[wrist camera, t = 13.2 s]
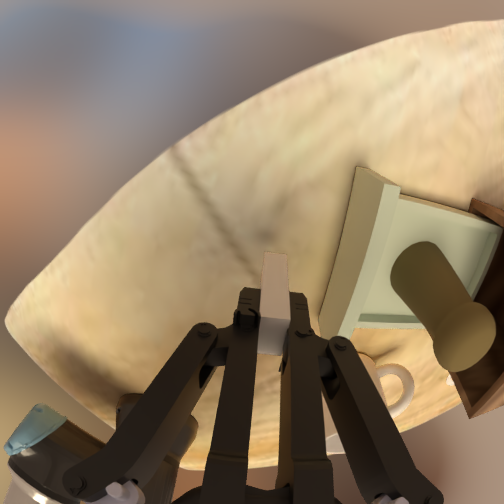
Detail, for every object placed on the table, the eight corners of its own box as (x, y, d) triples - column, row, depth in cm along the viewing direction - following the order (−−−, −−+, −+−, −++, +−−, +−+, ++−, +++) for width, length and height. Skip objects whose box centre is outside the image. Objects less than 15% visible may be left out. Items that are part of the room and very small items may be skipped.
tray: (318, 319, 27) (325, 363, 21) (356, 166, 19) (384, 183, 14) (444, 323, 26) (463, 355, 21) (493, 206, 19) (527, 229, 14)
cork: (450, 245, 20) (519, 317, 11) (429, 297, 23) (477, 378, 13) (401, 237, 20) (470, 321, 11) (381, 295, 23) (423, 389, 13)
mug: (394, 327, 27) (423, 399, 18) (404, 362, 30) (426, 424, 21) (301, 366, 31) (306, 440, 21) (325, 395, 34) (331, 458, 24)
